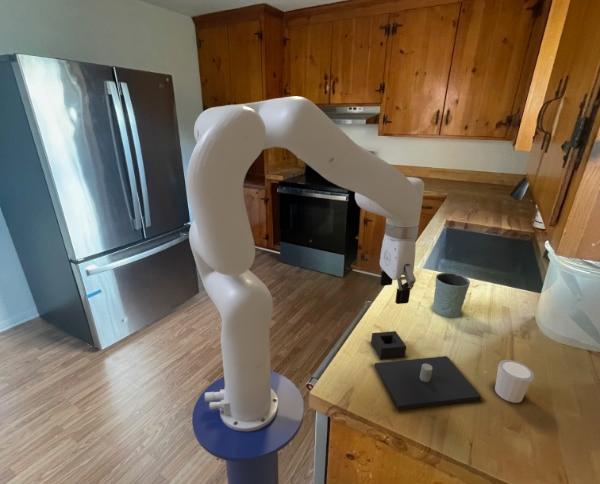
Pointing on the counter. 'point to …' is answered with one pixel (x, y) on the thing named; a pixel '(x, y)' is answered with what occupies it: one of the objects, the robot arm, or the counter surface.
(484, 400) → the counter surface
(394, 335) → the black square frame
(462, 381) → the base pad
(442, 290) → the grey green embossed cup
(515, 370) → the white short cylinder
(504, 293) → the counter surface
